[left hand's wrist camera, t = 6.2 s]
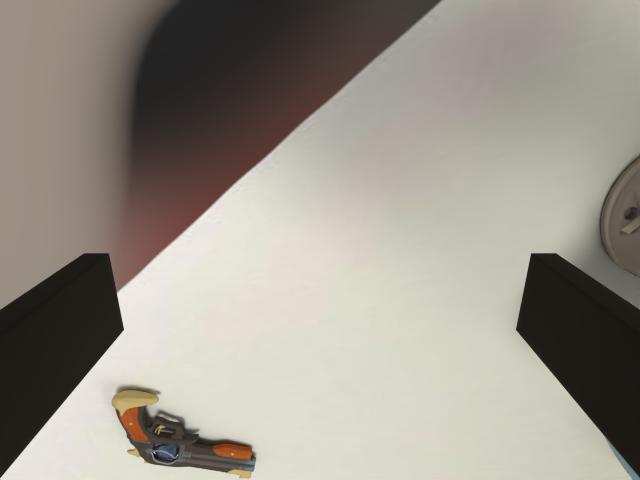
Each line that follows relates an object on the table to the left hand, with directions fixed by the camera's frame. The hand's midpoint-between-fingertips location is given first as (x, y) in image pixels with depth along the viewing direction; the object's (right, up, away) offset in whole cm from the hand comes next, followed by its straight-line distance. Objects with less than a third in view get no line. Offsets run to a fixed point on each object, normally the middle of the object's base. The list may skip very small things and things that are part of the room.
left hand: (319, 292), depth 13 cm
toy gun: (-17, -23, +39) cm, 48 cm away
